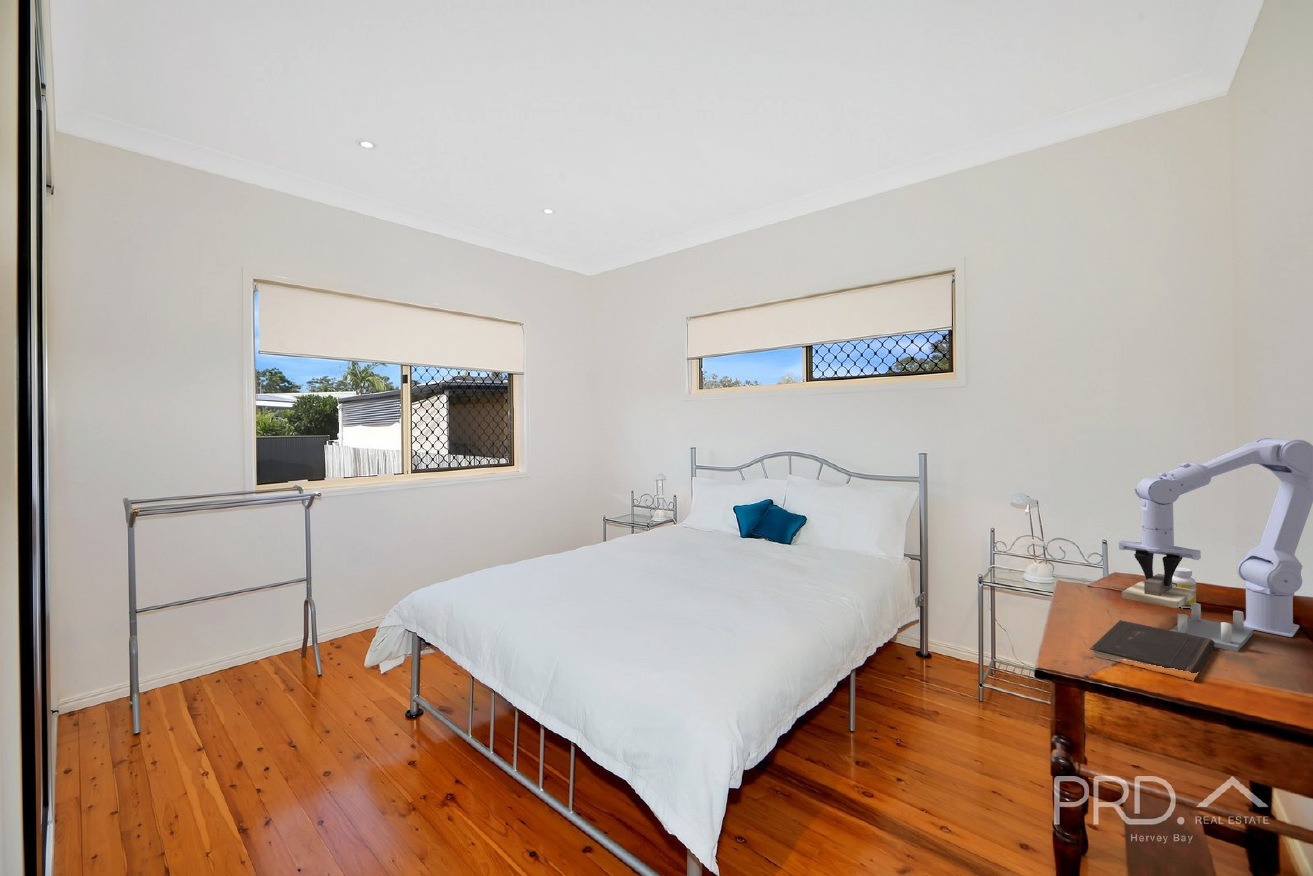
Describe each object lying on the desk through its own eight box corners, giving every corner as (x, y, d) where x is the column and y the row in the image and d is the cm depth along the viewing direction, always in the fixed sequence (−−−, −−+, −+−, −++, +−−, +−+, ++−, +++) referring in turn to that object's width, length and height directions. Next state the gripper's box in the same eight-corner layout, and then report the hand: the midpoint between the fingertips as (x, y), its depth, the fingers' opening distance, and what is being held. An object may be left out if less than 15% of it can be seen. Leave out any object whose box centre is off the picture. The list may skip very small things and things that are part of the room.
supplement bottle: (1163, 604, 144) (1162, 568, 143) (1173, 601, 146) (1173, 565, 146) (1190, 611, 139) (1189, 573, 138) (1200, 607, 141) (1200, 569, 141)
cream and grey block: (1141, 586, 139) (1141, 569, 139) (1195, 596, 131) (1195, 577, 131) (1121, 597, 132) (1121, 579, 132) (1177, 608, 123) (1177, 588, 123)
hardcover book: (1090, 658, 117) (1090, 647, 117) (1120, 629, 131) (1119, 620, 131) (1193, 685, 104) (1193, 673, 104) (1214, 649, 118) (1214, 639, 118)
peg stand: (1187, 620, 133) (1187, 600, 133) (1253, 633, 124) (1253, 612, 124) (1168, 636, 125) (1167, 614, 125) (1237, 651, 116) (1237, 628, 115)
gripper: (1113, 526, 135) (1114, 580, 135) (1193, 534, 123) (1195, 594, 123) (1123, 522, 139) (1125, 574, 139) (1202, 530, 127) (1203, 587, 127)
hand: (1158, 583), depth 131 cm, fingers closed on cream and grey block, 3 cm apart
